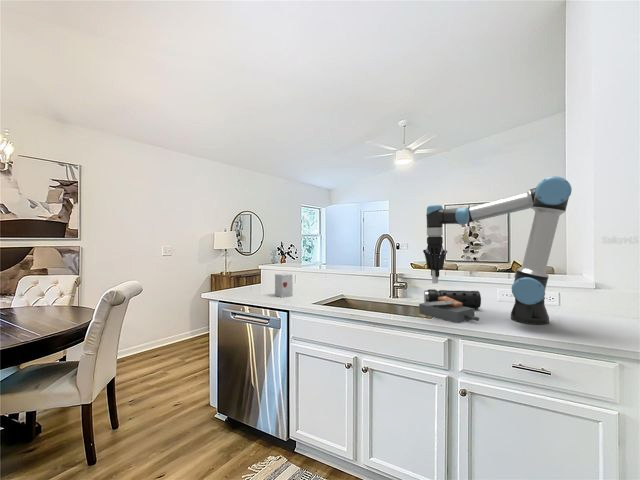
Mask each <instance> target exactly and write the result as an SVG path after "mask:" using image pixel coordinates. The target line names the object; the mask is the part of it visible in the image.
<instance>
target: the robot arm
mask: <svg viewBox="0 0 640 480" xmlns="http://www.w3.org/2000/svg"><path fill="white" fill-rule="evenodd" d="M571 194H572V186H571V183H570V182H569V180H567V179H565V178H564V177H561V176H548V177H546V178H544V179H542V180H541V181H540V182H539V183H537V185H536V187H534V188H531V189H530V188H529V189H528V190H527V191H526V192H523V193H520V194H515V195H512V196H507V197H505V198H501V199H498V200H493V201H490V202H485V203H481V204H478V205H475V206H474V205H473V206H470V207H457V208H443V206H442V205H440V204H435V205H432V204H431V205H428V206H427V207H426V214H425V216H426V236H427V237H426V244H427V245H426V248H425V249H423V251H422V252H423V254H424V259H425V262H426V267H427V269H429V270H430V275H431V278H432V279H431V282H432V283H431V284H439V277H440V271H441V270H443V269H444V264H445V259H446V255H447V253H448V250H447V249H444V246H443V243H444V242H443V241H444V240H443V235H444V233H443V230H444V229H443V225H460V226H463V225H466V224H469V223H470V224H471V223H473V222H476V221H477V222H478V221H482V220H486V219H490V218H495V217H499V216H503V215H506V214H507V215H509V214H512V213H517V212H520V211H526V210H529V209H532V211H534V215H533V216H534V217H533V220H532V223H531V229H530V232H529V237H528V241H527V244H526V249H525V251H524V257H523V260H522V265H521V266H520V267H519V268H516V271H515V272H514V276H513V277H514V280H513V284H512V285H511V293H512V295H513V297H514V304H513V307H512V310H511V313H510V319H511V320H512V321H515V322H518V323H522V324H531V325H547V324H549V323H550V317H549V314H548V311H547V308H546V306H545V298H546V297H545V296H546V289H547V284H548V280H549V274H547V267H548V263H549V258H550V254H551V251H552V247H553V242H554V239H555V234H556V232H557V231H556V230H557V228H558V223H559V221H560V220H559V219H560V216H561V215H562V214H565V212H566V210H567V206H568V202H569V200H570V196H571Z"/></svg>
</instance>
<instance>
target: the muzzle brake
mask: <svg viewBox="0 0 640 480" xmlns="http://www.w3.org/2000/svg"><path fill="white" fill-rule="evenodd" d="M443 296H447V297H449V298H452V299H454V300H456V301H459V302H461V303H463V305H462V306H464V307H469V308H474V310H479V308H481V305H482V296H481V293H480V291H479V290H446V289H439V290H437V289H435V288H434V289H433V288H432V289H430V288H429V289H427V290H424V291H423V303H427V302H433V301H440V300H438V297H443Z"/></svg>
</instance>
